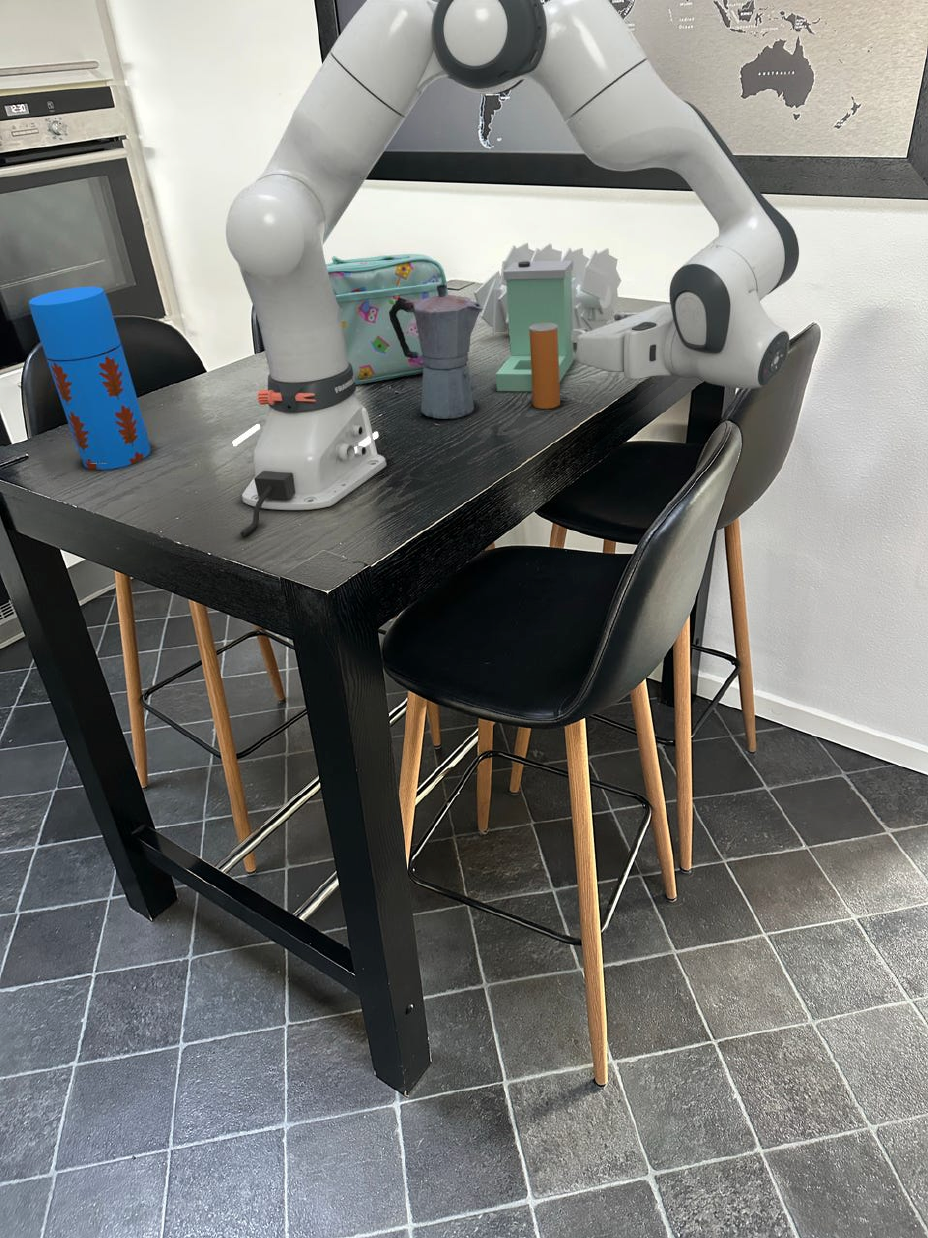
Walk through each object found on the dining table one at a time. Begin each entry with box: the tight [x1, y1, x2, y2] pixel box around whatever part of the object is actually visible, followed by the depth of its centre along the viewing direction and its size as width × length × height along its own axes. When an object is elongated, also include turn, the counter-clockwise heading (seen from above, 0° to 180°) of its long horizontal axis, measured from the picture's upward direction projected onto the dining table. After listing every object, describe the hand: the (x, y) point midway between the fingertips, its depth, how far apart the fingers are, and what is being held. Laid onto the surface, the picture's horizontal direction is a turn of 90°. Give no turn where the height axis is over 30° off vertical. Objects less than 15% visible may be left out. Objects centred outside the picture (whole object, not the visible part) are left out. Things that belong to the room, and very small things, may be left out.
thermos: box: [28, 286, 151, 471], centre depth 139 cm, size 11×11×25 cm
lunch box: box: [326, 253, 449, 386], centre depth 163 cm, size 27×10×21 cm, turn 102°
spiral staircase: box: [473, 242, 622, 344], centre depth 174 cm, size 18×18×25 cm
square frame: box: [495, 355, 567, 392], centre depth 157 cm, size 10×10×3 cm
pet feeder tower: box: [504, 260, 575, 373], centre depth 160 cm, size 7×11×18 cm, turn 73°
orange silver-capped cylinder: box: [529, 323, 561, 410], centre depth 145 cm, size 4×4×12 cm
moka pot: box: [389, 285, 483, 420], centre depth 144 cm, size 10×15×20 cm, turn 78°
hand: (596, 326), depth 133 cm, fingers open, 8 cm apart
